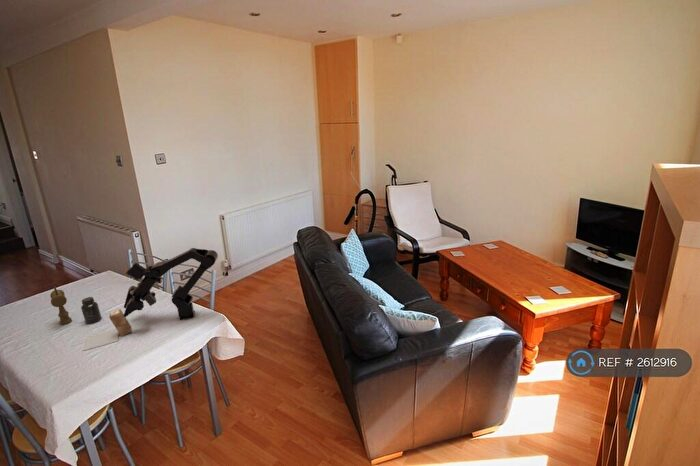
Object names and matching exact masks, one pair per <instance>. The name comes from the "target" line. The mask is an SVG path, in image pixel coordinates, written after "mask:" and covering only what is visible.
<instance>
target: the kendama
mask: <svg viewBox="0 0 700 466" xmlns="http://www.w3.org/2000/svg"><path fill="white" fill-rule="evenodd" d="M67 301H68V299H67V297H66V296H65V292H64V290H62V289H57V287H56V286H53V291H51V293H50V304H51V306H52V307H54V308H58V315H57V317H59V324H60V325H66V324H69V323H71V322H72V321H73V320H72V318H71V317H70V315H69V313H70V312H69V311H67V310H66V308H65V305H66V304H67Z"/></svg>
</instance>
